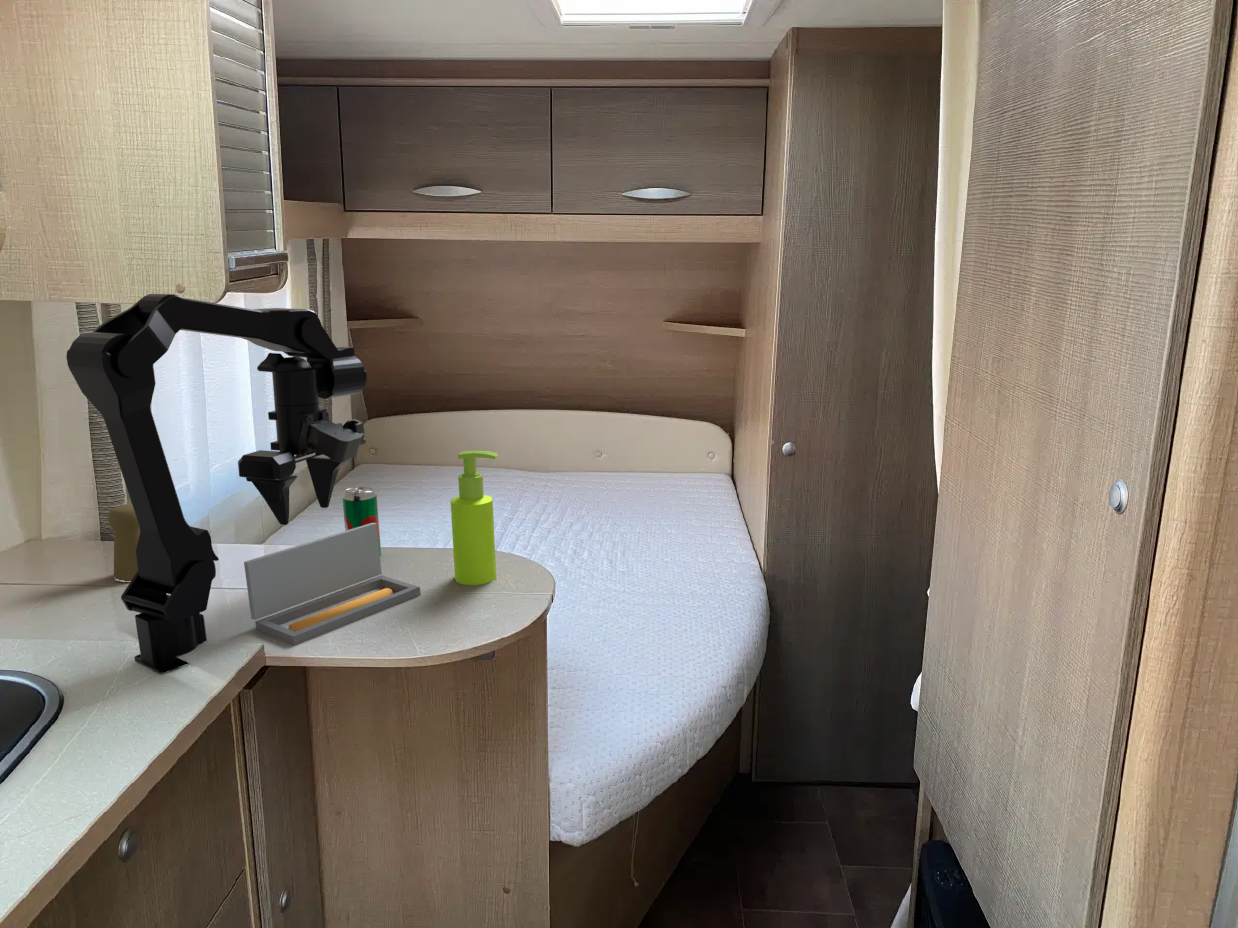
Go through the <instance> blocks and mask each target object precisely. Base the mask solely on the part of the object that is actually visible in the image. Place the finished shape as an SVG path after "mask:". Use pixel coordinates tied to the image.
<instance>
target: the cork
mask: <svg viewBox="0 0 1238 928" xmlns="http://www.w3.org/2000/svg"><path fill="white" fill-rule="evenodd" d="M107 519H108V524H109V526H110V527H111V528H112V529H113V578H114V577H115V578H116V579H119V580H124V581H131V580H132V579H133V577H134V576H135V574H136V573H137V571H138V564H137V557H136V548H137V544H138V540H139V536H140V526H139V523H138V520H137V517H136V514H135V511H134V508H133V505H132V503H127V504H126V503H125V504H121V505H117V506H114V507H113V508H111V509H110V510H109V512H108V515H107Z"/></svg>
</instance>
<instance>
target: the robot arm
mask: <svg viewBox="0 0 1238 928" xmlns="http://www.w3.org/2000/svg"><path fill="white" fill-rule="evenodd" d="M318 315H319V314H317V312H315V311H314V310H311V309H308V308H286V307H285V308H284V307H283V308H281V307H280V308H279V307H273V308H272V307H269V308H267V307H266V308H253V309H252V308H245V307H241V306H233V305H228V304H221V303H215V302H210V301H204V300H203V301H202V300H198V299H192V298H187V297H186V298H184V297H181V296H180V295H177V294H172V293H148V294H146V295H144V296H143V297H142V298H140V299H139V300H137V302H135V303H134V304H133V305H132V306H131V307H129V308H128V309H126V310H124V311H122V312H120V313H119V314H117V315H115V316H114V317H112V318H110V319H108V320H106V321H104V322H103V323H101V324H100V325H99V326H97V328H95V329H94V330H93V331H92V332H86V333H83V334H81V335H79V336H78V337H76V338H75V339H74V341H72V342H71V345H70V347H69V349H67V351H66V363H67V367H68V369H69V372H70V373H71V375H72V377H73V378H74V380H75V383H76V384H77V386H78V388H79V389H80V392H81V393H82V394H83V396H85V398H86V399H87V400H88V401H89V402H90V403H91V404H92V406H94V408H95V409H96V410H97V411H98V412H99V414H100V415H101V417H102V418H103V420H104V423H105V427H106V430H107V432H108V434H109V438H110V441H111V444H112V447H113V451H114V454H115V456H116V459H117V463H118V465H119V468H120V472H121V474H122V477H123V481H124V483H125V486H126V487H125V488H126V490H127V492H128V496H129V499H130V502H131V504H132V505H133V508H134V511H135V514H136V517H137V520H138V523H139V526H140V536H139V540H138V544H137V548H136V557H137V564H138V571H137V573H136V574H135V576H134V577H133V579H132V580H131V582H130V583H128V585H127V587H126V588H125V590H124V591H123V593H122V594H121V597H120V598H121V601H122V602H123V604H124V606H125V608H126V610H128V611H131V612H136V613H137V614H135V615H134V619H135V625H136V634H137V639H138V647H139V653H140V654H137V655H134V661H135V663H139V664H140V665H142V666H144V667H147V668H148V669H150V670H153V671H155V672H156V673H158V674H166V673H168V672H170V671H173V670H175V669H178V668H182V667H183V666H186V665H188V664H190V662H188V661H187V660H184V659H182V658H179V657H180V656H183V655H187V654H189V653H190V652H193V651H194V650H195V649H197V647H198V646H199V645H202V644H203V643H204V642H207V641H208V639H207V632H206V624H205V616H204V614H202V613H203V612H205V611H206V610H207V609H208V604H209V598H210V593H211V588H212V583H213V580H214V579H215V578H216V574H217V569H216V563H215V562H217V561H219V559H220V558H219V557H218V556H217V555H216V554H215V551H214V548H213V546H212V545H213V544H212V543H213V542H212V536H211V535H210V532H209V530H207V529H204V528H199V527H195V526H192V525H191V526H190V525H189V523H188V522H187V521H186V519H185V516H184V513H183V509H182V507H181V503H180V499H179V497H178V492H177V490H176V486H175V484H174V481H173V477H172V473H171V472H170V468H169V464H168V460H167V457H166V454H165V451H164V448H163V445H162V442H161V439H160V435H159V432H158V429H157V426H156V422H155V420H154V416H153V413H152V407H151V406H152V405H151V404H152V401H153V396H154V392H155V387H156V376H155V369H154V365H155V363H157V362H158V361H159V360H160V359H161V358H162V357H163V356H164V355H166V353H167V352H168V351H169V349H170V347H171V344H172V343H173V341H174V339H175V336H176V334H178V332H180V331H186V332H194V333H201V334H209V335H215V336H222V337H223V336H224V337H230V338H239V339H244V340H246V341H248V342H249V343H252V344H254V345H255V346H259V347H262V348H264V349H267V350H271V351H274V352H269V353H268V354H267V356H266V358H265V359H264V360H261V362H260V363H259V364H258V365H257V367H256V370H257V371H258V372H263V373H265V372H267V373H271V374H272V387H273V388H272V390H273V400H274V410H272V411H268V412H267V415H268V421H275V428H276V430H275V431H276V441H270V450H262V449H261V450H256V451H252V452H249V453H246V454H243V455H242V456H241V457H240V458H239V460H238V461H237V466H238V476H239V478H245V479H246V481H247V482H251V483H252V484H253V486H254V487H255V488H256V489H257V491H258V492H259V494H260V495H261V496H262V498H263V499H264V501H265V502H266V504H267V506H268V507H269V509H270V511H271V512H272V513H273V515H274V517H275V519H276V520H277V522H278V523H279V524H280V525H281V526H282V525H283V526H286V525H289V521H290V488H291V485H293V483H294V482H295V481H296V480H297V478H298V475H294V472H295V471H296V468H297V463H301V462H303V461H306V465H307V468H308V472H309V475H310V479H311V483H312V485H313V489H314V493H315V496H316V499H317V502H318V504H319V506H320V508H322V509H327V508H329V507H330V502H331V498H332V495H333V491H334V488H335V484H336V481H337V477H338V474H339V471H340V470H341V468H342V467H343V466H345V465H346V464H347V462H349V461H350V460H351V459H355V458H357V456H358V451H359V449H360V446H363V445H365V444H366V438H365V435H366V434H365V428H364V423H363V421H361V420H358V419H356V418H353V419H349V420H347V421H345V423H344V424H343V423H341V422H338V423H335V422H332V421H330V415H329V412H328V411H327V408H321V406H320V399H321V400H322V399H323V400H326V399H333V398H338V397H344V396H345V397H346V396H352V395H357V394H359V393H361V392H362V391H363V390H364V388H365V386H366V384H367V375H368V374H367V371H366V369H365V367H364V365H363V362H362V361H361V360H360V359H359V357H357V356H356V355H355V348H354V347H351V346H339V347H337V346H336V345H335V343H334V342H333V340H332V339H331V337H330V336H329V334H328V333H327V331H326V330H325V329H324V326H323V325H322V323H321V320H320V318H319V316H318ZM276 352H278V353H276ZM279 352H282V353H284V354H285V355H287V357H284V356H283V354H281V353H279ZM304 358H306V359H304Z"/></svg>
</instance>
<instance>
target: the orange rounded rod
mask: <svg viewBox="0 0 1238 928" xmlns="http://www.w3.org/2000/svg"><path fill="white" fill-rule="evenodd" d="M392 594H394V592H393V590H391V589H389V588H385V587H384V588H382V589H380V590H378V591H374V592H372V593H369V594H367V595H364V596H361V597H359V598H356V599H354V600H351V601H349V602H345V603H343V604H341V605H337V606H335V607H333V608H330V609H327V610H325V611H322V612H320V613H317V614H313V615H311V616H309V617H306V618H304V619H301V620H298V621H296V622H292V623H290V624H289V625H288V629H290V630H292V631H295V632H297V631H299V630H302V629H304V628H307V627H309V626H312V625H315V624H317V623H320V622H322V621H325V620H327V619H330V618H333V617H335V616H338V615H340V614H343V613H345V612H348V611H351V610H353V609H356V608H358V607H361V606H363V605H366V604H369V603H371V602H374V601H376V600H379V599H381V598H384V597H387V596H389V595H392Z"/></svg>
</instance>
